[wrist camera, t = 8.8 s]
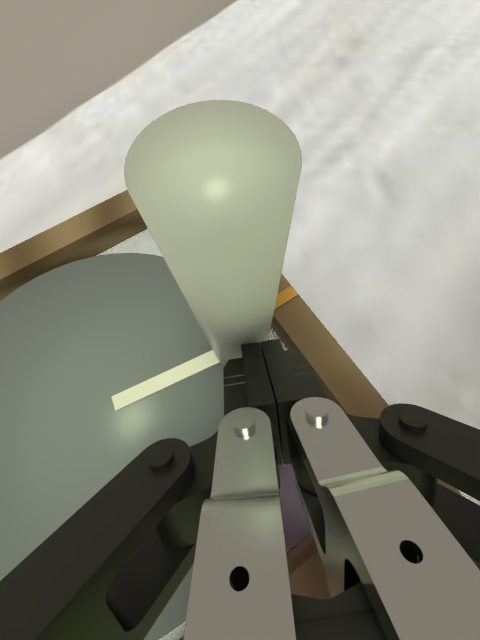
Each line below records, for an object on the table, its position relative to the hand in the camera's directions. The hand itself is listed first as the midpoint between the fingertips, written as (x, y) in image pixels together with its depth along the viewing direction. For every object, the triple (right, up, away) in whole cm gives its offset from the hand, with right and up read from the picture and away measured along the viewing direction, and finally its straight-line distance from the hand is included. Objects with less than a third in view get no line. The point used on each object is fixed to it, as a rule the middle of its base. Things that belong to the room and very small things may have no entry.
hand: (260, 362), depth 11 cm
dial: (-8, -4, +6) cm, 11 cm away
